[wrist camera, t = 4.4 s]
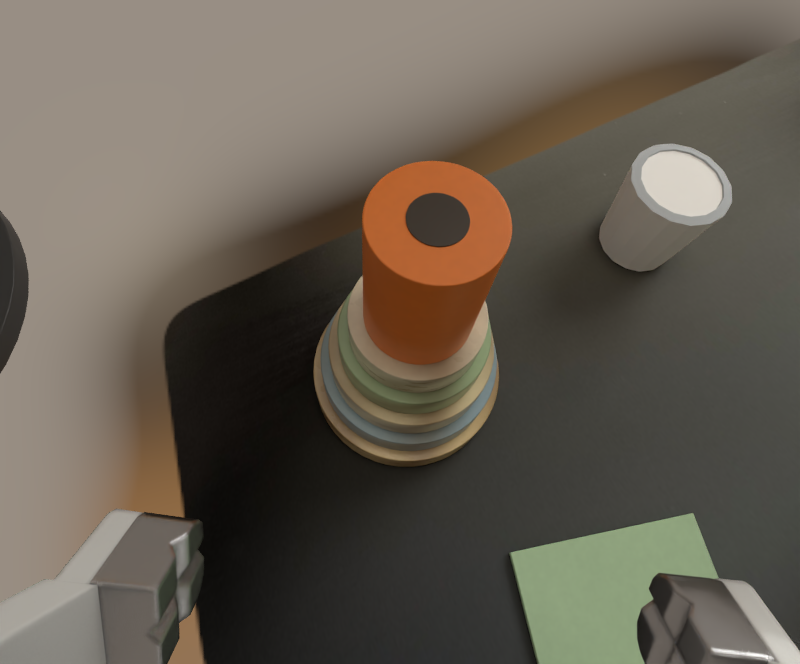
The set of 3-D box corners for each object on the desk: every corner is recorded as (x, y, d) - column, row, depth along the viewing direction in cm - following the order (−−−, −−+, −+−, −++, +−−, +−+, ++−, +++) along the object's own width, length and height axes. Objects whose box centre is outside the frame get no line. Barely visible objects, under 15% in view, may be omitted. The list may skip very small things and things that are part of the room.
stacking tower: (329, 483, 33) (315, 451, 24) (305, 311, 38) (286, 230, 29) (513, 448, 35) (566, 406, 26) (468, 287, 39) (499, 203, 30)
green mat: (571, 799, 27) (574, 803, 27) (508, 552, 32) (510, 552, 32) (778, 741, 29) (783, 743, 29) (689, 513, 34) (693, 513, 33)
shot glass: (618, 289, 40) (666, 236, 34) (575, 217, 42) (612, 155, 36) (694, 264, 41) (754, 209, 35) (648, 195, 44) (696, 132, 37)
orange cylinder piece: (373, 373, 26) (376, 296, 18) (354, 273, 28) (351, 167, 20) (485, 355, 26) (531, 273, 19) (458, 259, 28) (491, 152, 21)
